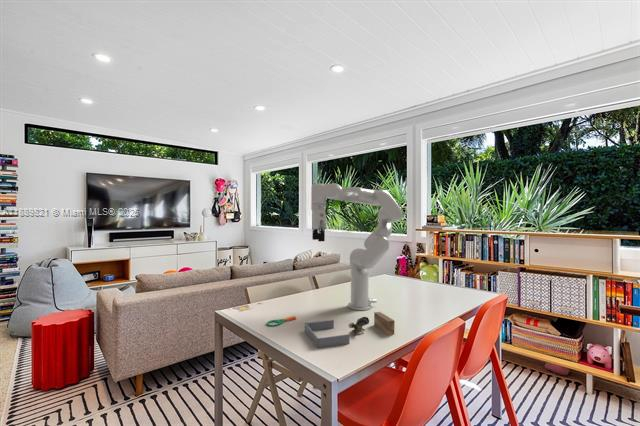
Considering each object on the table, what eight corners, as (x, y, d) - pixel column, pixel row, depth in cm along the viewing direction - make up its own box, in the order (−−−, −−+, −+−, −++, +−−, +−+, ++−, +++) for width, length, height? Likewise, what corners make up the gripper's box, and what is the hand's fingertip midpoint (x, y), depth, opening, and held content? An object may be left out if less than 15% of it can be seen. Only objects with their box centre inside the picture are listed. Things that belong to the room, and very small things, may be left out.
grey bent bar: (333, 327, 139) (333, 319, 139) (349, 343, 122) (349, 334, 122) (304, 331, 134) (304, 323, 134) (317, 348, 118) (317, 338, 118)
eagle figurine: (367, 335, 127) (373, 324, 135) (357, 320, 128) (364, 310, 136) (353, 342, 131) (359, 330, 139) (343, 327, 131) (350, 317, 139)
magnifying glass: (270, 328, 138) (270, 324, 138) (263, 324, 143) (263, 321, 143) (298, 321, 147) (298, 317, 147) (291, 317, 152) (291, 314, 152)
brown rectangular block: (380, 324, 143) (380, 311, 143) (394, 334, 132) (394, 320, 132) (374, 325, 142) (374, 312, 142) (388, 335, 131) (388, 321, 131)
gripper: (331, 207, 154) (331, 241, 154) (320, 207, 170) (319, 238, 170) (316, 207, 152) (316, 242, 152) (306, 207, 168) (306, 239, 168)
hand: (318, 240), depth 161 cm, fingers open, 9 cm apart
